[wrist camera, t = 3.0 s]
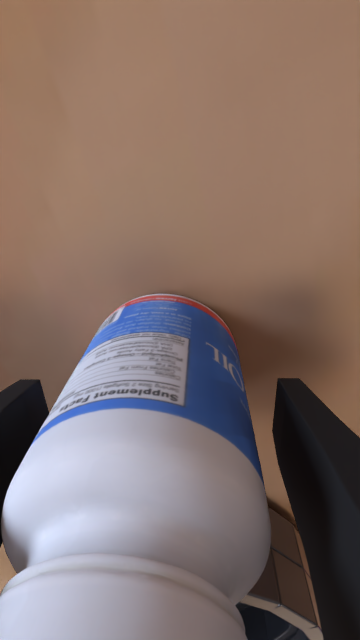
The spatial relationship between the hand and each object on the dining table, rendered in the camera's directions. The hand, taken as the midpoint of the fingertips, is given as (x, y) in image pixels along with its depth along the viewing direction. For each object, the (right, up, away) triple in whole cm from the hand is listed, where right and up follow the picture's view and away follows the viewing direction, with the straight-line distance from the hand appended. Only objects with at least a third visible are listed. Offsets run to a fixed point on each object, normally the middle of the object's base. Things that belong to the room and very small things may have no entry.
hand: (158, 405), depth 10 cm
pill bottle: (0, +1, +3) cm, 3 cm away
